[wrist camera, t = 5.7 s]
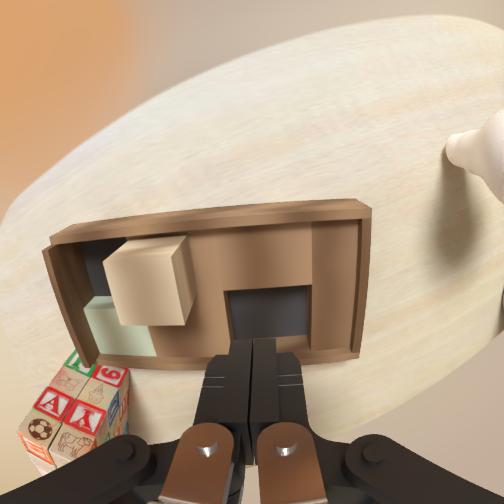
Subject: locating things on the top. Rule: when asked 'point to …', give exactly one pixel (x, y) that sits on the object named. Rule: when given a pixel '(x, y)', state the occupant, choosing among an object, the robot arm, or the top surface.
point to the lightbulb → (482, 153)
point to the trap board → (226, 283)
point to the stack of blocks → (76, 413)
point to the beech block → (152, 280)
